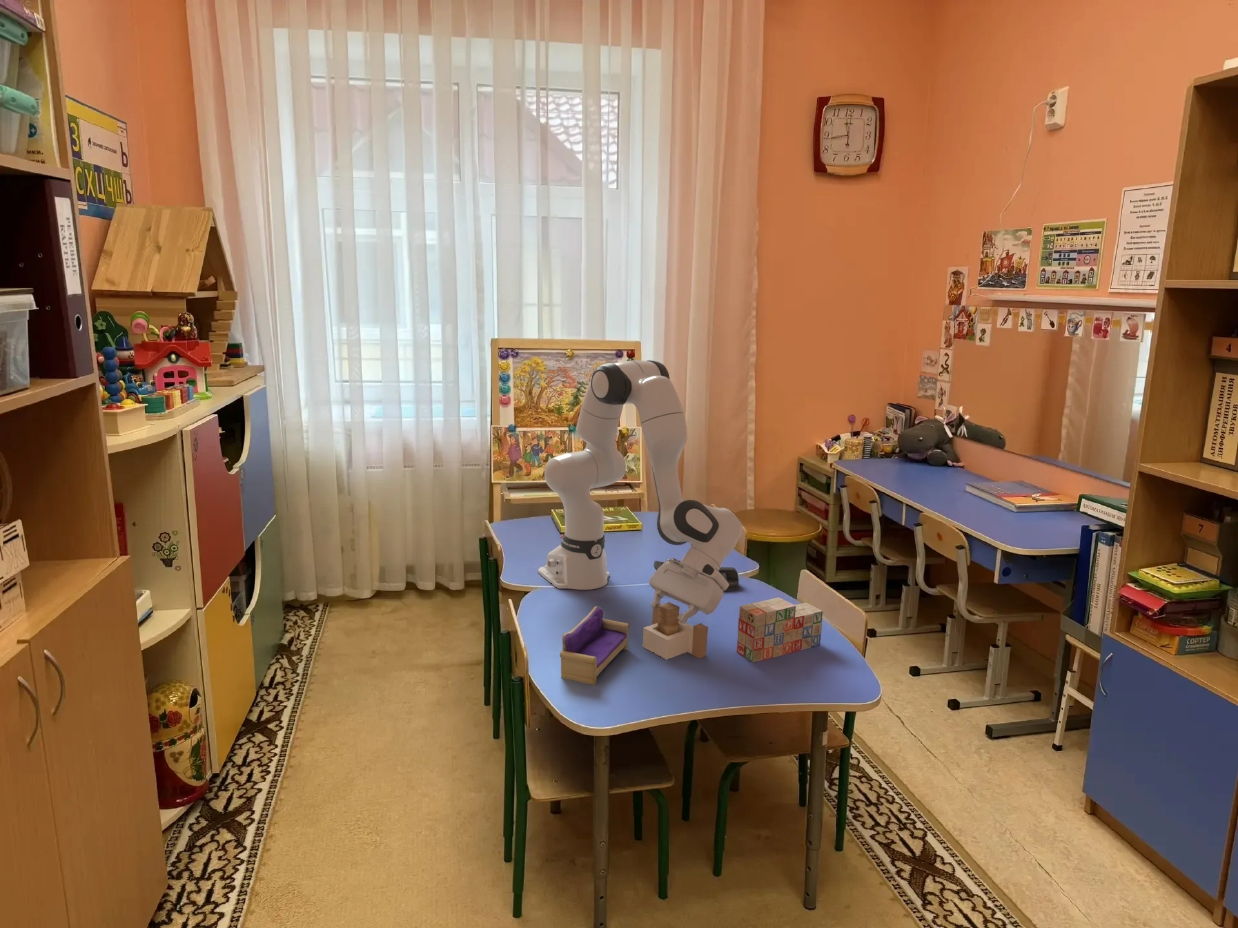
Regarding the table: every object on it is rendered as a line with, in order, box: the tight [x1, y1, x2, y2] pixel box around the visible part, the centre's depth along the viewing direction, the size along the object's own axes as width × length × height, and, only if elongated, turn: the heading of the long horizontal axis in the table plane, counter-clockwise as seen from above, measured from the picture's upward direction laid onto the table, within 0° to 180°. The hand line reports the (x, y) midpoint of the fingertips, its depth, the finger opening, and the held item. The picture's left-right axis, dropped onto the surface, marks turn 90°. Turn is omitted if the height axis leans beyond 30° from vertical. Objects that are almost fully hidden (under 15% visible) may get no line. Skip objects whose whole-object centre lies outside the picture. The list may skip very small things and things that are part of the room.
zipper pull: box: [653, 560, 740, 592], centre depth 242 cm, size 9×7×25 cm
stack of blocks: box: [736, 596, 824, 663], centre depth 202 cm, size 21×6×12 cm, turn 120°
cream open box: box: [642, 608, 709, 660], centre depth 201 cm, size 17×9×8 cm, turn 40°
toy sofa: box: [559, 605, 630, 686], centre depth 192 cm, size 21×9×10 cm, turn 158°
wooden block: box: [658, 601, 680, 636], centre depth 200 cm, size 4×4×11 cm
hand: (666, 614), depth 199 cm, fingers open, 8 cm apart
